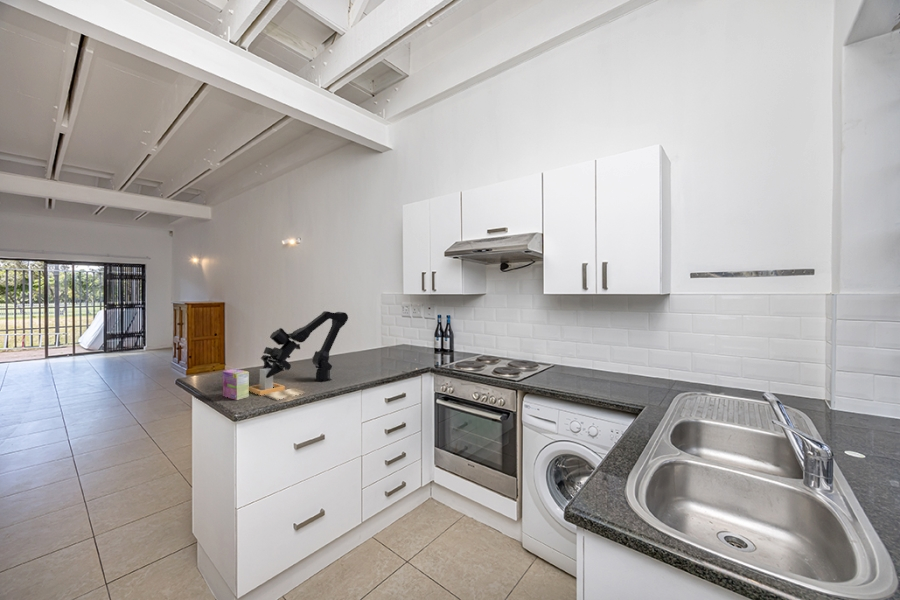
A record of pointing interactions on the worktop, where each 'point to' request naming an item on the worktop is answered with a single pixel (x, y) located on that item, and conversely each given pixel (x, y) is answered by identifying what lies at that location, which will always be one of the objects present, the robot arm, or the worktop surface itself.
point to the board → (284, 394)
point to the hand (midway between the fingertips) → (263, 376)
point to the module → (265, 379)
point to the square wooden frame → (261, 392)
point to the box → (236, 384)
